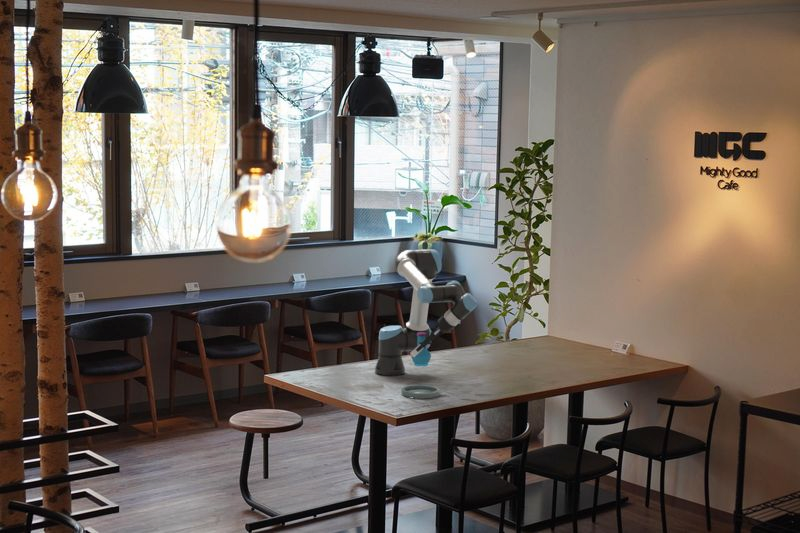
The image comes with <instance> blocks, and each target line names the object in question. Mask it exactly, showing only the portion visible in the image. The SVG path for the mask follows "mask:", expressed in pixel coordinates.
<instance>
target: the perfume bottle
mask: <svg viewBox="0 0 800 533" xmlns="http://www.w3.org/2000/svg"><path fill="white" fill-rule="evenodd" d="M417 336H418V344H417V346H418V345H419V342H420V343H422V342H423V341H424V340H425V337H426V333H425V332H418V333H417ZM423 344H424V343H423ZM424 345H425V344H424ZM410 357H411V359H412V363H413V366H414V367H428V366H429V363H430V360H431V358H432V354H431V352H430V351H429V350H428V348H426V347H425V348H424V349H423V350H422V351H421V352H419V353H418V354H417V355H416V356H415V357H413V356H412V355H411V354H410Z"/></svg>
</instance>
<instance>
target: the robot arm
mask: <svg viewBox="0 0 800 533" xmlns="http://www.w3.org/2000/svg"><path fill="white" fill-rule="evenodd" d="M442 266H443V265H442V258H441V255H440V253H439V252H438V251H437V250H436V249H430V248H426V249H422V248H421V249H405V250H403V251H401V252H400V253H399V254H398V255H397V256H396V258H395V260H394V269H395V271H396V272H397V274H398V275H399V276H401V277H402V278H405V279H406V281H407V282H409V284H410V285H411V286H412V287H413V291H412V298H411V304H410V305H411V308H410V316H409V320H408V321H407V322H406V323H405V327H404V328H403V327H402V326H401V325H397V324H396V325H387V326H383V327H382V328H380V330H379V331H378V333H379V334H378V358H377V361H376V365H375V368H374V373H375V372H376V373H379V374H383V375H382V376H387V375H394V376H401V374H402V375H404V374H405V372H406V368H405V365H404V364H405V363H404V361H403V357H402V356H403V355H402V353H403V352H409V353H410V356H411V355H412V356H413V357H415V356H416V355H417V354H418V353H419V352H421V351H422V350H423V349H424V348H425V347H426V348H427V349H429V347H430V346H431V344H432V341H433V340H434V339H435V340H436V339H437V338H438V337H439V336H441V335H442V334H443V333H444V331H445V332H446V333H450V332H451V331H452V330H454V328H455V327H456V326H457V325H458V324H459V325H460V324H461V321H463V320H464V319H465V318H466V317H467V316H468V315H470V313H472V312H474V310H475V309H476V308H477V307H478V303H479V302H478V300H477V299H476V297H475V296H474V295H472V294H471V293H470V292H467V293H466V291H465V289H464V287H463V286H462V285H461V283H460V281H457V280H451V281H448V282H447V283H446V284H445V285H434V284H433V283H432V282H433V280H434V279H436V277H437V274H439V273H441V271H442ZM449 302H450V303H452V304H453V305H452V306H451V307H450V308H449V309H448V310H447V311H446V312H445V313H443V314H444V315H441V317H440V318H438V320H437V322H438V323H437V324H438V325H437V326H436V327H434V329H433V330H431V328H430V326H429V324H428V323H427V321H428V315H429V314H428V313H429V306H430V303H431V304H432V303H433V304H434V303H449ZM418 332H425V333H426V337H425V340H424V341H423V342H422V343H420V342H419V345H418V346H417V344H418V336H417V333H418ZM423 343H424V344H425V345H424V344H423ZM376 373H375V374H376ZM379 374H378V375H379Z"/></svg>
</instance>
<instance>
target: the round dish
mask: <svg viewBox="0 0 800 533" xmlns="http://www.w3.org/2000/svg"><path fill="white" fill-rule="evenodd" d="M400 390H401V391H400V392H401V395H402V394H403V395H405V396H408V397H407V398H409V397H413V398H412V399H416V398H428V399H434V398H438V397H439V396H440V393H441V390H440V388H439V387H437V386H434V385H433V386H432V385H429V384H412V385H406V386H403V387H402V388H401V389H400ZM403 395H402V396H403ZM405 396H404V397H405Z"/></svg>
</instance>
